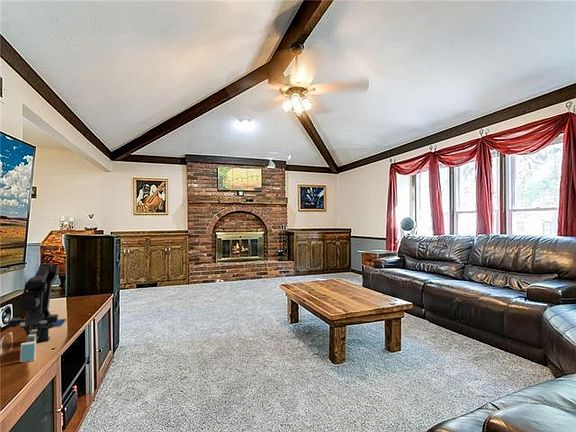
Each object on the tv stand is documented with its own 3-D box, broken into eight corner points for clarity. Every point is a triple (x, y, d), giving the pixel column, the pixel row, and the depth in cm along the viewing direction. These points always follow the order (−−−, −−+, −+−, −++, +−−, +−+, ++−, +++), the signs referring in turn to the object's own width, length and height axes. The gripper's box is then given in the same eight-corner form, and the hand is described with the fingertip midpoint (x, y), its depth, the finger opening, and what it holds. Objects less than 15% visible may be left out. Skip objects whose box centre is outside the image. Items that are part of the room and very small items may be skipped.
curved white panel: (31, 337, 158) (31, 329, 158) (38, 337, 159) (38, 328, 159) (25, 347, 146) (26, 338, 146) (33, 346, 147) (33, 337, 147)
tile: (21, 361, 143) (22, 343, 143) (35, 359, 146) (36, 341, 146) (20, 363, 141) (20, 344, 141) (34, 360, 144) (35, 342, 144)
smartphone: (46, 327, 188) (53, 319, 202) (46, 328, 188) (53, 321, 202) (61, 325, 191) (67, 318, 205) (61, 327, 191) (67, 320, 205)
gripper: (5, 312, 143) (3, 347, 143) (56, 307, 153) (55, 340, 152) (11, 306, 153) (9, 339, 152) (59, 302, 162) (57, 333, 162)
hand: (33, 338), depth 154 cm, fingers closed on curved white panel, 3 cm apart
